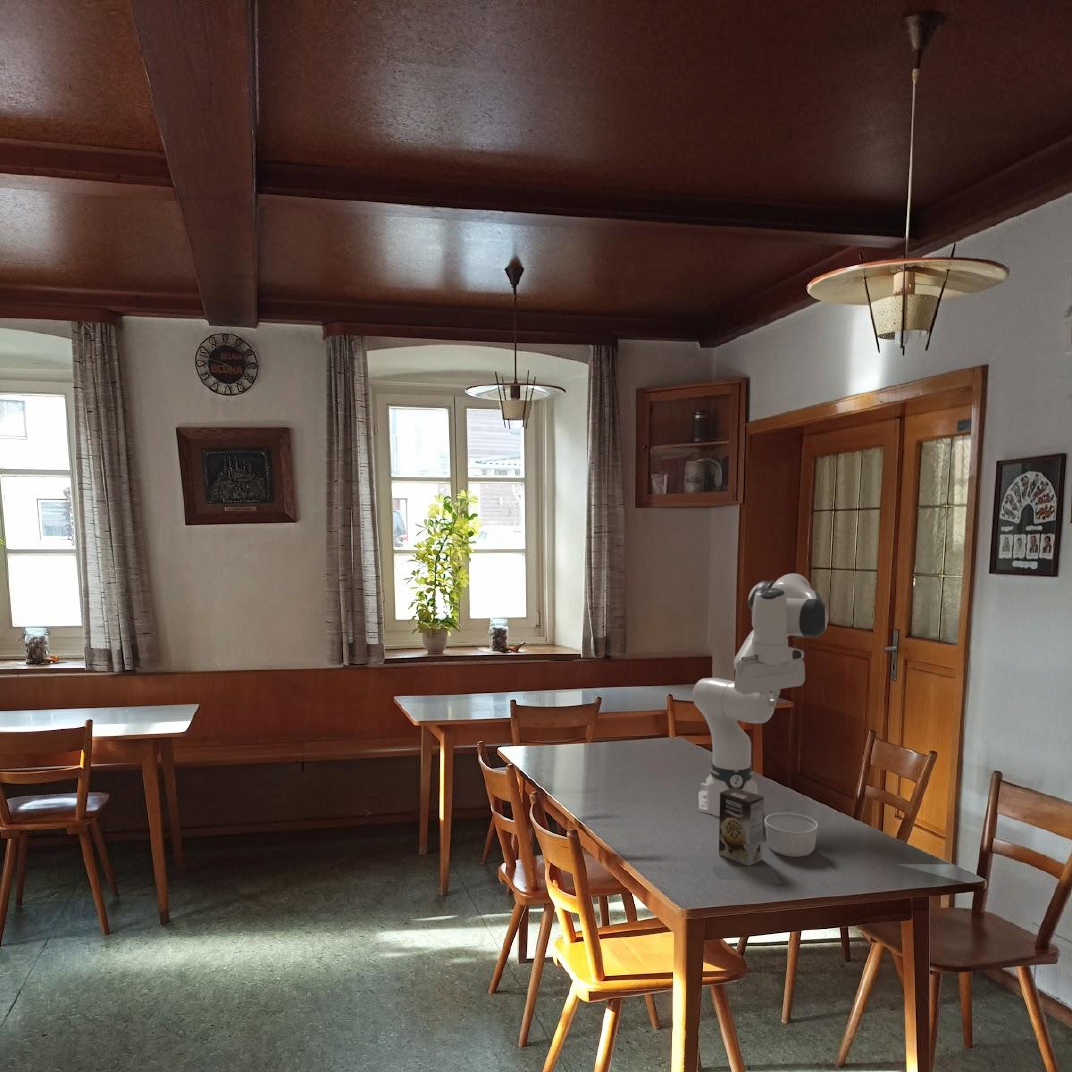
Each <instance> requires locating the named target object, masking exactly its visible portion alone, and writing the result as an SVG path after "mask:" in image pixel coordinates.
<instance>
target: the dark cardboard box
mask: <svg viewBox="0 0 1072 1072" xmlns="http://www.w3.org/2000/svg"><path fill="white" fill-rule="evenodd" d="M764 803H765V797H764V796H763V795H759V794H757V795H756V794H753V793H750V792H747V791H744V790H741V789H738V788H735V787H733V788H731V789H728V790H725V791H723V792H721V793H720V817H719V824H718V825H719V830H718V831H719V833H718V841H719V842H718V856H721V857H724V858H727V859H730V860H732V861H734V862H737V863H738V864H741V865H744V866H745V867H751V866H752V865H754V864H756V863H758V862H760V861H762V860H763V835H764V833H763V832H764V831H763V830H764V807H765V806H764Z"/></svg>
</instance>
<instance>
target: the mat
mask: <svg viewBox="0 0 1072 1072" xmlns="http://www.w3.org/2000/svg"><path fill="white" fill-rule="evenodd" d="M712 869H713V872H714V873H715V875H716V876H717V877H718V880H724V881H725V880H726V881H736V880H737V881H739V880H740V881H739V882H750V881H751V882H755V883H766V884H768V883H769V884H780V885H782V884H783V883H782V882H781V880H780V878H779V877H778V875H777V874H776V872H775V871H774V869H773V868H772V866H713V867H712ZM741 880H742V881H741ZM743 880H744V881H743Z"/></svg>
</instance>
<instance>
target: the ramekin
mask: <svg viewBox="0 0 1072 1072" xmlns="http://www.w3.org/2000/svg"><path fill="white" fill-rule="evenodd" d="M818 824H819V823H818V822H817V821H816V820H815V819H813V818H811V817H809V816H807V815H805V814H799V813H795V812H776V813H770V814H769V815H767V816H766V817H764V819H763V826H764V827H765V838H766V843H767V845H768V847H769V848H770V849H771V850H772V851H773V852H775V853H777V854H778V855H781V856H786V857H791V858H794V857H795V858H797V857H800V858H802V857H806V856H808V855H811V854H812V852H814V850H815V847H816V843H817V834H818V831H819V825H818Z"/></svg>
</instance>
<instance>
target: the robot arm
mask: <svg viewBox="0 0 1072 1072" xmlns="http://www.w3.org/2000/svg"><path fill="white" fill-rule="evenodd" d="M747 601H748V602H747V605H748V609H750V625H751V626H752V628H753V629H752V630H751V631H750V633H749V634H748V636H747V637H746V639H745V640H744V642H743V644H742V645H741V646H740V647H741V648H740V649H739V651H738V653H737V654H736V656H735V657H734V660H733V665H734V666H733V667H734V669H735V674H734V680H730V679H725V678H720V677H706V678H705V677H703V678H701V679H700V680H698V681H697V682H696V683H695V685H694V687H693V690H692V700H693V703H694V706H695V707H696V708H697V709H698V710H699V711H700V712H701V714H702V715H703V717H704V718H705V722H706V723H707V726H708V727H709V730H710V731H709V732H710V735H711V742H712V745H711V746H712V762H711V763H710V767H709V768H710V769H709V770H710V774H709V775H708V776H707V778H706V779H705V782H701V783H700V791H698V811H699V812H700V813H705V814H708V815H711V814H712V815H711V816H714V817H717V818H720V793H721V792H723V791H725V790H728V789H731V788H733V787H735V788H738V789H741V790H744V791H747V792H750V793H753V794H756V795H758V786H757V783H756V782H755V781H754V780H753V779H752V778H753V766H752V761H751V760H752V759H751V758H752V757H751V756H752V742H751V739H750V735H748V734H747V733H746V732H745V730H743V729H742V727H741V726H740V724H739V723H738V721H740V722H743V723H748V724H764V723H767V722H768V721H769V720H770V719H771V718H772V716H773V715H774V712H775V707H777V700H778V698H779V696H780V694H781V690H782V689H788V688H796V687H800V686H803V684H804V683H805V681H806V680H805V679H806V669H805V667H806V666H805V662H804V661H803V659H804V657H805V652H804V650H801V649H799V648H795V647H792V646H789V639H788V638H789V636H792V641H795V640H796V639H803V638H812V639H818V638H819V637H820V636H821V635H823V634H824V633H825V632H826V629H827V626H828V622H829V616H828V615H829V613H828V609H827V607H826V605H825V604H824V603H823V602H824V601H823V599H822V597H821V594H820V593H819V592H818V591H815V590H814V589H812V587H811V584H810V582H809V580H808V579H807V578H806V577H805V576H803V575H801V574H800V573H788V574H785V575H782V576H781V577H779V578H777V580H776V581H775V580H774V579H771V581H769V580H763V581H760V582H758V583H757V584H756V585H754V586H753V588H752V589H751V590H750V592H749V594H748V600H747Z"/></svg>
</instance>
